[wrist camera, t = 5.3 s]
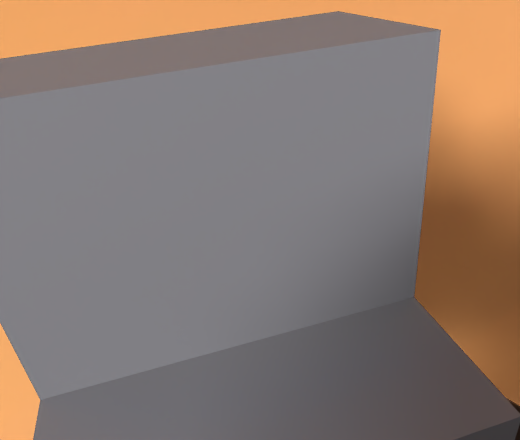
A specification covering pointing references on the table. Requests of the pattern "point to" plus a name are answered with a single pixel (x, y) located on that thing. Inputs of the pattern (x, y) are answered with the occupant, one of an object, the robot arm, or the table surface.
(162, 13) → the table surface
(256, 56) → the stepped block
